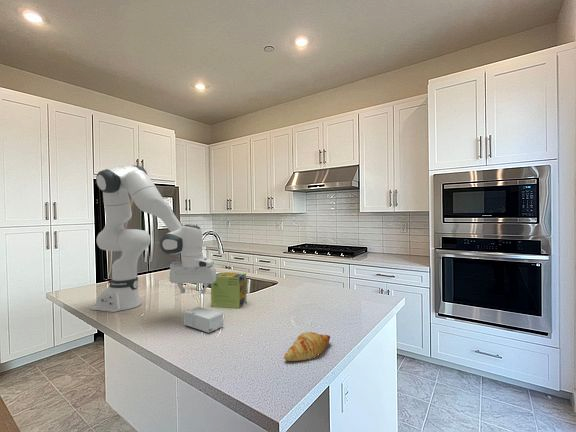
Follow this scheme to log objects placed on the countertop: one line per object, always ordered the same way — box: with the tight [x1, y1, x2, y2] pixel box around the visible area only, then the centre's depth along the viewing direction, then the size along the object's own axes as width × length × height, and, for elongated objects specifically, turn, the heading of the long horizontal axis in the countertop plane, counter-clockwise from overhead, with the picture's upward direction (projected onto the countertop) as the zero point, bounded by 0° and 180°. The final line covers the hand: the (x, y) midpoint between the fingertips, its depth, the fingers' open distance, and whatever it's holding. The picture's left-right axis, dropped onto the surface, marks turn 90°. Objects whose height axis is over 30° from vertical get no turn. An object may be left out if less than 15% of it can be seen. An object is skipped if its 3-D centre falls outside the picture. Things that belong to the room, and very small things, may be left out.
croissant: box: [283, 331, 331, 362], centre depth 102 cm, size 21×10×8 cm, turn 132°
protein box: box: [210, 271, 247, 309], centre depth 154 cm, size 10×15×16 cm
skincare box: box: [183, 306, 224, 333], centre depth 125 cm, size 8×6×15 cm
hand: (193, 293), depth 132 cm, fingers open, 8 cm apart
